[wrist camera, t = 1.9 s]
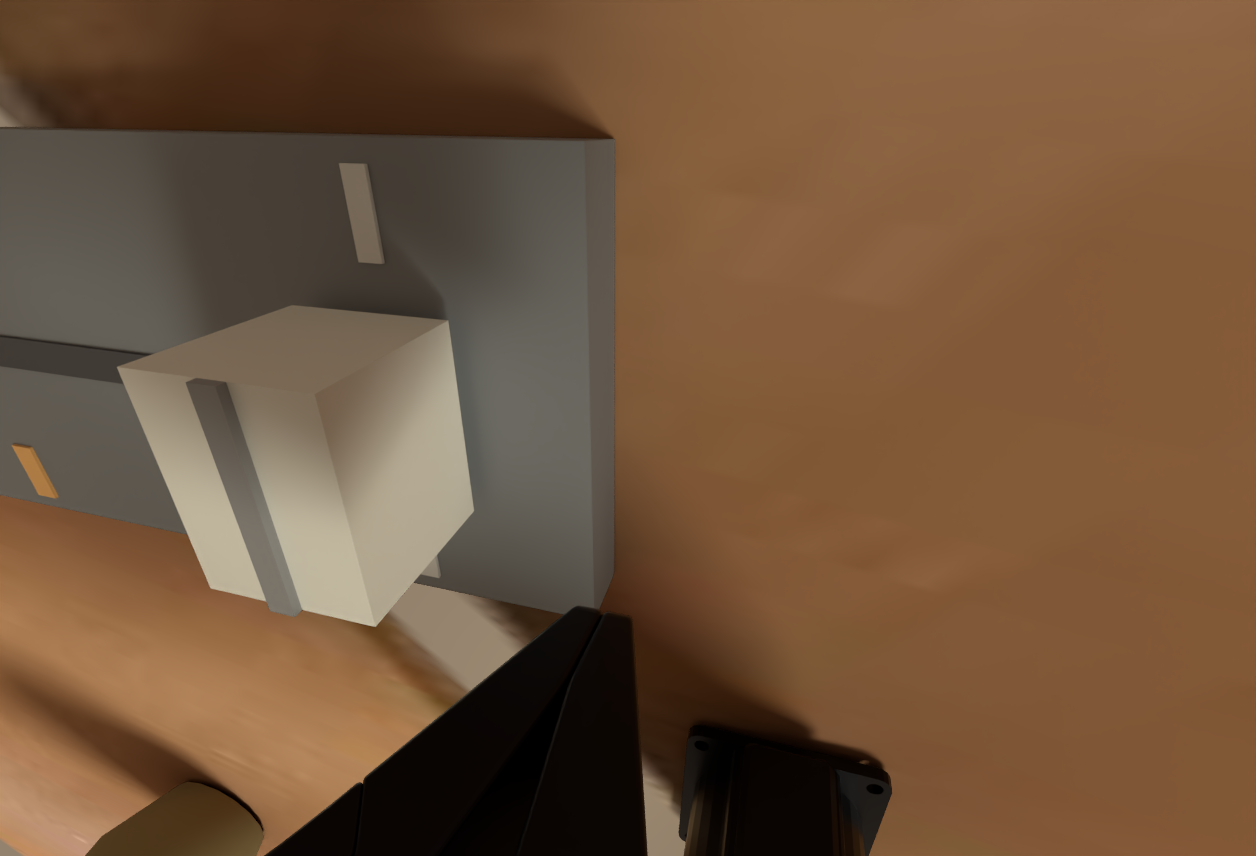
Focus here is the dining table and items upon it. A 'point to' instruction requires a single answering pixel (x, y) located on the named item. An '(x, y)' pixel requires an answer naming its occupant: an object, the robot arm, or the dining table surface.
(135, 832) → the squeeze bottle
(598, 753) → the robot arm
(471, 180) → the plate
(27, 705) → the dining table surface
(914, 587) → the dining table surface
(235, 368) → the cap
